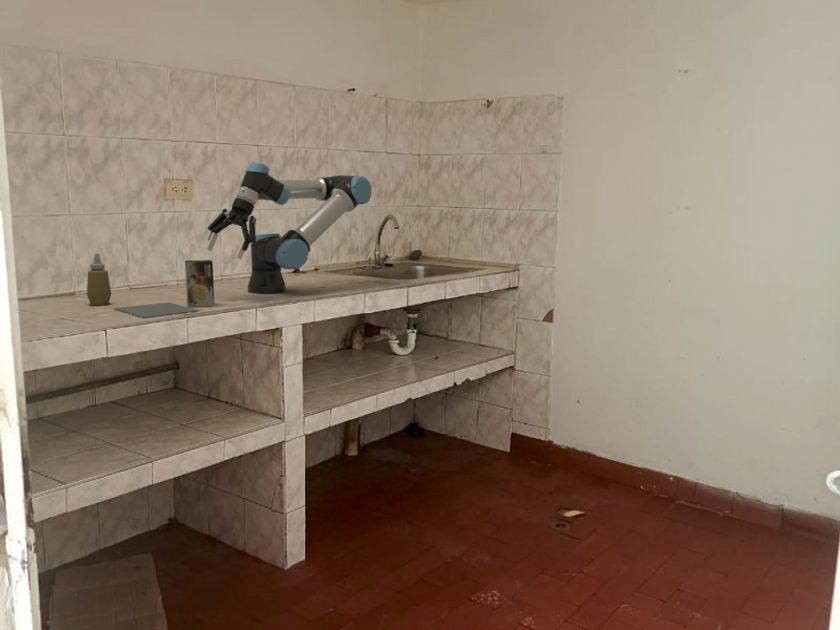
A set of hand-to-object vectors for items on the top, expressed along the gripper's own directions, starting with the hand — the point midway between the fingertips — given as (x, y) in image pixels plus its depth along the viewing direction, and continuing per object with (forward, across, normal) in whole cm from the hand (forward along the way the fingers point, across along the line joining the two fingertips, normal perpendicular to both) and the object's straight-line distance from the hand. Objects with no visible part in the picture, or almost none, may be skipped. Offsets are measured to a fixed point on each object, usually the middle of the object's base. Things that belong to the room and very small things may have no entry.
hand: (223, 254), depth 271 cm
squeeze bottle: (+32, -30, -14) cm, 47 cm away
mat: (+28, -5, -15) cm, 32 cm away
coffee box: (+21, +1, -1) cm, 21 cm away
